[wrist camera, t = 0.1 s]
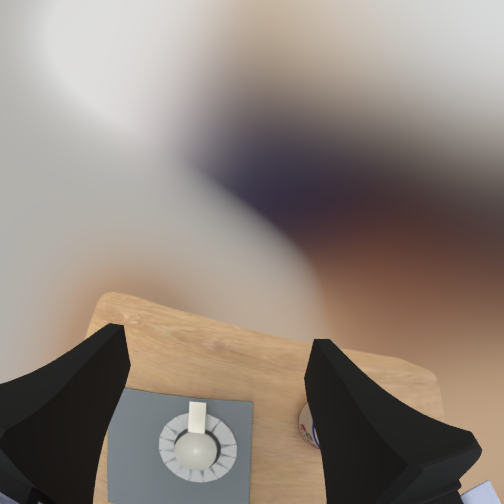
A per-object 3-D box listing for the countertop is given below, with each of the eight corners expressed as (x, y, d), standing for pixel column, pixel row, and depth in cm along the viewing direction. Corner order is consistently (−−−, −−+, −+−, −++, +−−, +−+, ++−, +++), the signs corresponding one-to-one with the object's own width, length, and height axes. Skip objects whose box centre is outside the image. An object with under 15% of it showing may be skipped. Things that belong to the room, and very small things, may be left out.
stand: (247, 519, 29) (249, 526, 26) (110, 500, 28) (103, 505, 25) (252, 401, 38) (254, 401, 35) (113, 385, 37) (106, 384, 34)
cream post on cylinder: (216, 464, 32) (215, 472, 28) (179, 460, 32) (173, 467, 28) (219, 403, 37) (218, 404, 32) (182, 400, 36) (176, 399, 32)
